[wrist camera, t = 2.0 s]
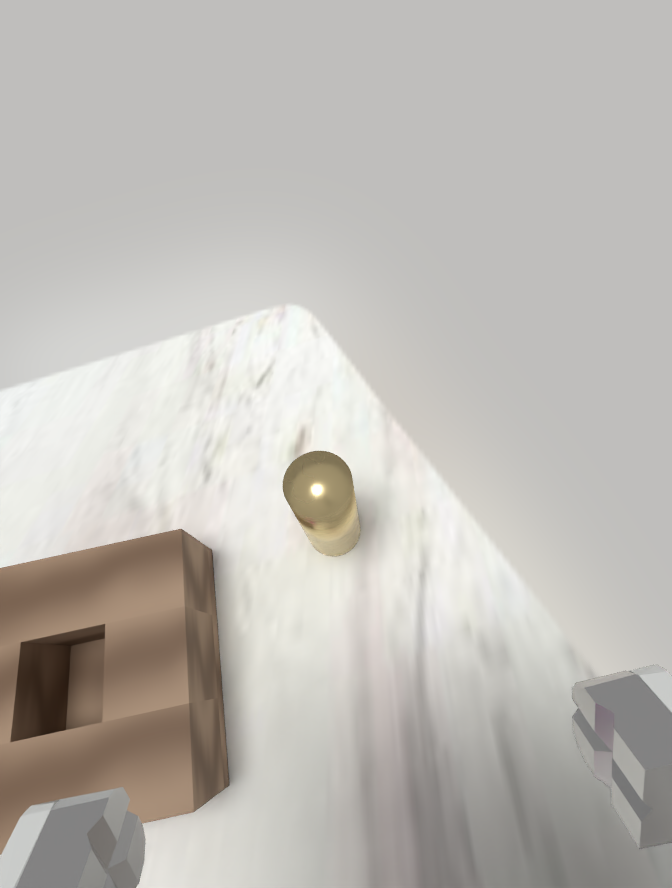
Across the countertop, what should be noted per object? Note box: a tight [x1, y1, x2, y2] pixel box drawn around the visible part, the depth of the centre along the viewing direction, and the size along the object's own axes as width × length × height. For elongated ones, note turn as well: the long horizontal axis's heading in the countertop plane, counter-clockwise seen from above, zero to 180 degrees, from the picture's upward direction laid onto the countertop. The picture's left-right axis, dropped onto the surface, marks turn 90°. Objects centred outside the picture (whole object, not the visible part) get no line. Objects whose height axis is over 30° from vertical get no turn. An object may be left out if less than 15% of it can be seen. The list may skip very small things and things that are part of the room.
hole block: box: [0, 529, 229, 855], centre depth 29 cm, size 15×15×6 cm
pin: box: [283, 451, 360, 556], centre depth 31 cm, size 4×4×10 cm
